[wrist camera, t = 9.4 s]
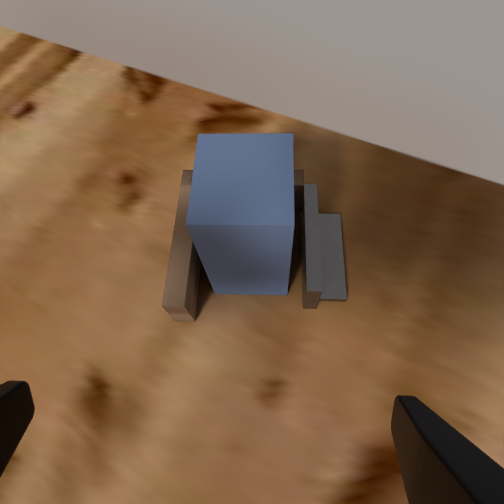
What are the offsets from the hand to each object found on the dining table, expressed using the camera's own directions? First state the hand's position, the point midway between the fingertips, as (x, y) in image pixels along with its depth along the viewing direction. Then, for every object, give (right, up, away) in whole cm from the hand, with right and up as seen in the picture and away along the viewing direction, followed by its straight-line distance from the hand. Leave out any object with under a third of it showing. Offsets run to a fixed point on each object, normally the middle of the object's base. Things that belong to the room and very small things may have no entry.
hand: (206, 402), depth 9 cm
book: (+1, +3, +15) cm, 15 cm away
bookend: (+5, +3, +15) cm, 16 cm away
